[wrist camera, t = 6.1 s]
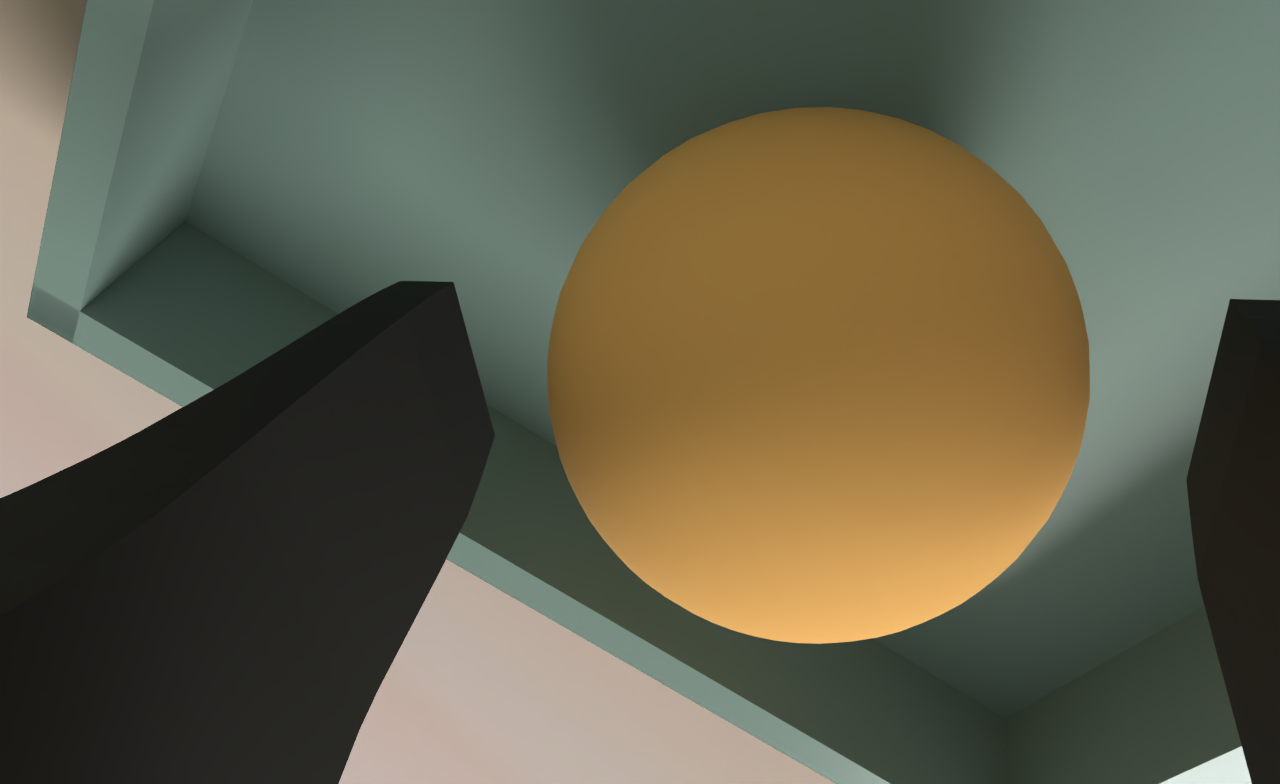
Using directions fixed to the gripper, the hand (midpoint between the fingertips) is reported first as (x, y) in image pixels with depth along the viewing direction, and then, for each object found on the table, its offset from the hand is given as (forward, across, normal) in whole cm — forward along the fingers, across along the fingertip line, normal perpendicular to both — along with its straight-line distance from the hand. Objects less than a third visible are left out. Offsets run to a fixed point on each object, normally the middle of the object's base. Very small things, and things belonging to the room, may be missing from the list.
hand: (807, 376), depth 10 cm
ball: (+2, 0, 0) cm, 2 cm away
